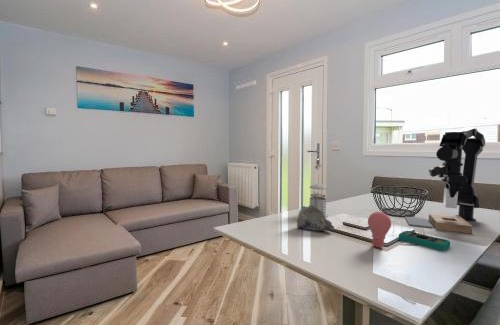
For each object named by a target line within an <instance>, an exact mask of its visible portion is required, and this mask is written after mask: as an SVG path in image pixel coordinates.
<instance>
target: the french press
mask: <svg viewBox="0 0 500 325" xmlns="http://www.w3.org/2000/svg"><path fill="white" fill-rule="evenodd" d="M316 167H318V168H320V167H322V164H320V163H318V164H316ZM319 179H320V175H318V177H317V180H318V183H315V184H311V185H310V186H309V189H313V190H314V191H313V193H312V194H310V196H311V197H309V206H311V205H313V206H314V207H316V208H317V209H319V210H321V211H322V212H323V214H324V215H325V218H327V217H328V214H327V209H326V208H327V198H326V195H325V194H319V193H320V192H319V191H317V193H316V191H315V190H326V189H327V186H325V185H323V184H321V183H319V181H320V180H319Z"/></svg>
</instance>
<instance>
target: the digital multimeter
mask: <svg viewBox="0 0 500 325" xmlns="http://www.w3.org/2000/svg"><path fill="white" fill-rule="evenodd" d="M398 240H399V241H403V242H407V243H409V244H414V245H418V246H421V247H425V248H428V249H433V250H436V251H439V252H444V251H445V252H446V251H447V250H448V249H450V248H451V240H448V239H444V238H439V237H436V236H431V235H426V234H422V233H418V232H415V231H411V230H404V231H402V232H400V233H399V234H398Z"/></svg>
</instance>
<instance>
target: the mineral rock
mask: <svg viewBox="0 0 500 325" xmlns="http://www.w3.org/2000/svg"><path fill="white" fill-rule="evenodd" d="M296 228H298V229H302V230H303V229H304V230H307V231H308V230H310V231H316V232H317V231H327V230H334V229H335V226H334V225H333V224H332V222H331V221H330V220H328V218H327V217H325V215H324V214H323V212H322V211H321V210H319V209H317V208H316V207H314V206H313V205H311V206H310V205H308V206H305V205H303V206H301V208H300V210H299V212H298V216H297V220H296Z"/></svg>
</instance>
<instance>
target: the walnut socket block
mask: <svg viewBox="0 0 500 325" xmlns="http://www.w3.org/2000/svg"><path fill="white" fill-rule="evenodd" d="M428 222H429V223H430V224H431V225H432V227H433V228H435V229H436V230H441V231H448V232H456V233H467V234H473V225H472V224H471V223H470V222H468V220H465V219H463V218H462V217H460V216H456V215H447V214H437V213H428Z"/></svg>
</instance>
